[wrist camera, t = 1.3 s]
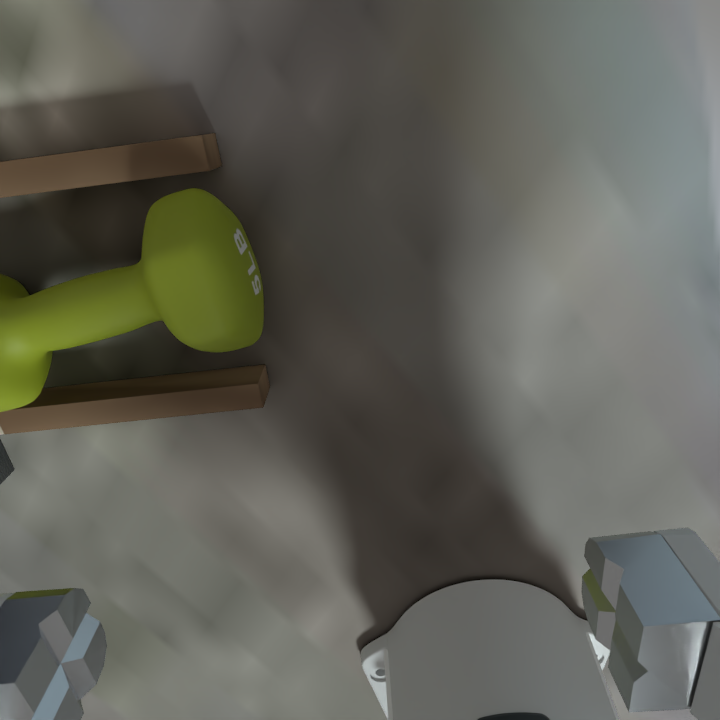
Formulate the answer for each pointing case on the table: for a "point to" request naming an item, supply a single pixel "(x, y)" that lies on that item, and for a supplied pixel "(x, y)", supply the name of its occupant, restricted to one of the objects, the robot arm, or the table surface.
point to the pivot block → (4, 464)
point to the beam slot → (135, 394)
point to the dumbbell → (140, 295)
